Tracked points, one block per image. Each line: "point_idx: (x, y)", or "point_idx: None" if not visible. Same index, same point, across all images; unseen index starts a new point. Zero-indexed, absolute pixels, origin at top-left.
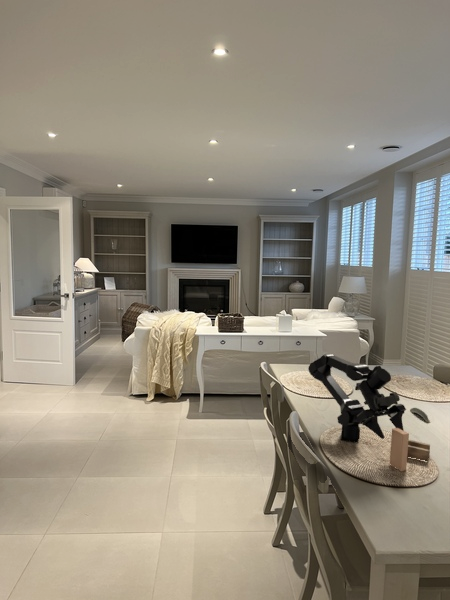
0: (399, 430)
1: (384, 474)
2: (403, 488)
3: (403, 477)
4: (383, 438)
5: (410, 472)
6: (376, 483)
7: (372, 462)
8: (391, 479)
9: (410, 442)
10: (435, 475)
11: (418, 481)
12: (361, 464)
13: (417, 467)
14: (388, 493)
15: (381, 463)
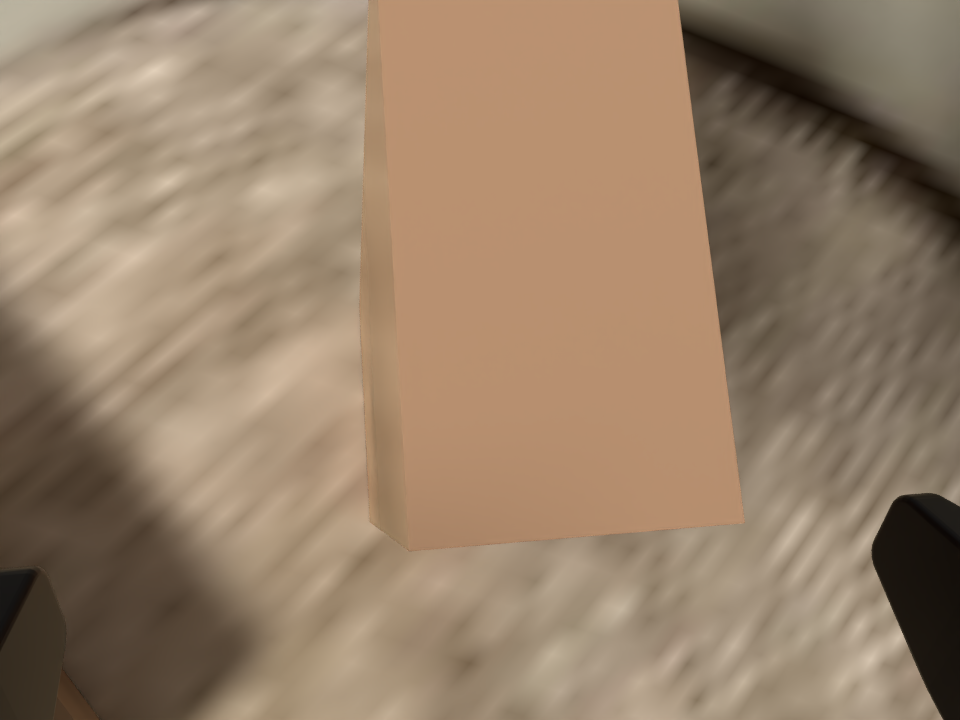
0: (554, 243)
1: (722, 323)
2: (712, 17)
3: None
4: (898, 516)
5: (350, 240)
6: (934, 202)
7: (673, 650)
8: (716, 203)
9: None
10: (74, 59)
11: None
12: (857, 647)
13: (127, 307)
14: (924, 15)
15: (565, 582)
